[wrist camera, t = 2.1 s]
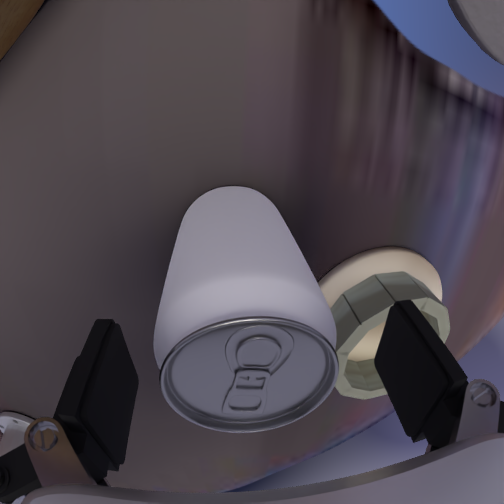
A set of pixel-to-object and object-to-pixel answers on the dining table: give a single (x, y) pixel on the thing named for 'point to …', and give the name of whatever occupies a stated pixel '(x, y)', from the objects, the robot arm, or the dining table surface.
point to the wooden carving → (15, 20)
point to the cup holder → (377, 309)
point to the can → (242, 319)
